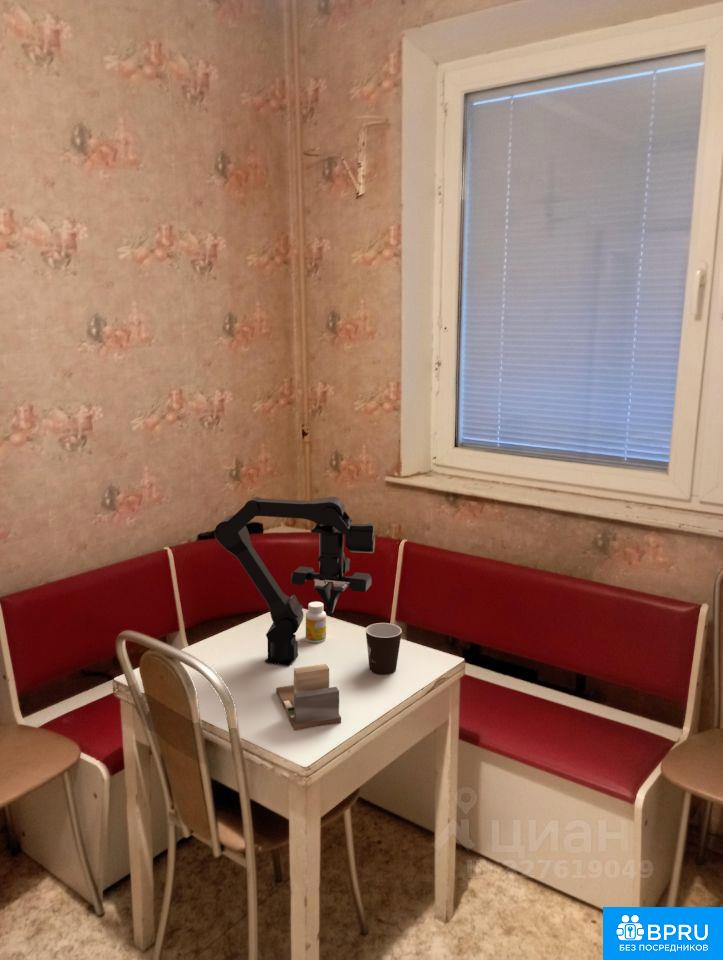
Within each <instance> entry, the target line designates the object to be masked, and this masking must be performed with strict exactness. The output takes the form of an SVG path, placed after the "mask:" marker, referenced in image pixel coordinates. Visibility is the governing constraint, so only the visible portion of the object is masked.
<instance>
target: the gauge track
mask: <svg viewBox="0 0 723 960" xmlns="http://www.w3.org/2000/svg"><path fill="white" fill-rule="evenodd" d="M275 689H276V695H277V697H278V699H279V701H280V703H281V706H282V708H283V709H284V712H285V714H286V716H287V718H288V721H289V722H290V725H291V728H292V729H293V731H300V730H301V731H302V730H305V729H311V728H313V729H314V728H317V727H324V726H328V725H329V726H330V725H334V724H335V725H336V724H340V723H342V716H341V715H340V690H339V689H338V687H337V686H332V687H331V686H329V688H324V689H317V690H311V691H304V692H298V693H294V684H292V685H285V686H278V687H276V688H275ZM290 707H294V710H292V711H288V708H290Z"/></svg>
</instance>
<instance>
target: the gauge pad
mask: <svg viewBox="0 0 723 960" xmlns="http://www.w3.org/2000/svg"><path fill="white" fill-rule="evenodd" d="M293 685H294V693H298V692H304V691H311V690H317V689H324V688H330V667H328V664H327V663H319V664H314V665H307V666H299V667H294V668H293ZM292 710H294V707H290V708H288V711H292Z"/></svg>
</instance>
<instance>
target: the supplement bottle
mask: <svg viewBox="0 0 723 960" xmlns="http://www.w3.org/2000/svg"><path fill="white" fill-rule="evenodd" d="M324 605H325V604H324V602H321V601H311V602H309V603H308V605H307V607H308V610H307V612H305V641H307V642H309V643H312V644H314V643H315V644H319V643H322V642H324V641H326V640H327V613H326V611H324V609H325V608H324Z"/></svg>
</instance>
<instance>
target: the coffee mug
mask: <svg viewBox="0 0 723 960" xmlns="http://www.w3.org/2000/svg"><path fill="white" fill-rule="evenodd" d="M402 632H403V630H402V628H401V627H400V626H398V625H397V624H393V623H388V622H378V623H377V622H376V623H372V624H369V625H368V626H366V628H365V635H366V636H365V637H366V645H367V647H366V648H367V656H368V657H367V658H368V667H369V671H370V672H371V673H373V674H375V675H378V676H389V675H392V674H394V673H395V672H396V671H397V667H398V665H397V664H398V658H399V653H400V646H401V638H402Z"/></svg>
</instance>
